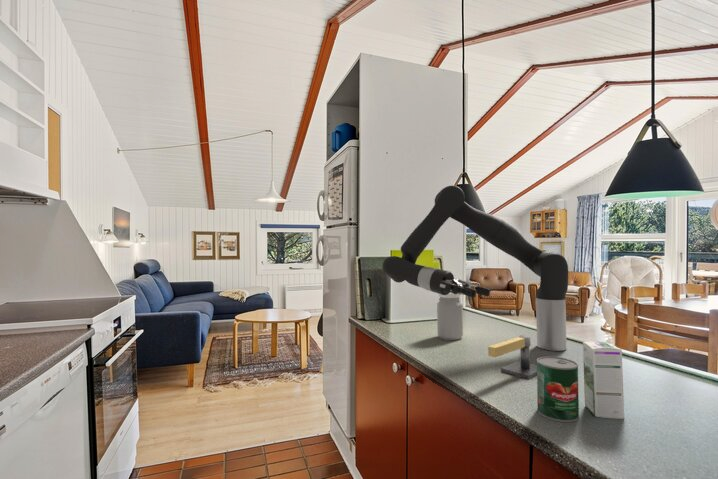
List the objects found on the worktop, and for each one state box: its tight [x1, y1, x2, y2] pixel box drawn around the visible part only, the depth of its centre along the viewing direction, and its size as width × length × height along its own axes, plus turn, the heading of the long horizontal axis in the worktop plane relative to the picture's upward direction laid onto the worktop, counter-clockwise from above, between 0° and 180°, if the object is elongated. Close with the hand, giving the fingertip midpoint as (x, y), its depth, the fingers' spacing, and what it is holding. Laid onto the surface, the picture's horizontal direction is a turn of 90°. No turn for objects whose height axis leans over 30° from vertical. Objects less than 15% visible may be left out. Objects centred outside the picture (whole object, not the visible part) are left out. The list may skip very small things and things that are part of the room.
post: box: [500, 346, 537, 380], centre depth 106 cm, size 10×8×7 cm
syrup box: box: [582, 341, 625, 420], centre depth 80 cm, size 6×6×14 cm
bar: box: [487, 335, 531, 358], centre depth 102 cm, size 18×3×2 cm, turn 128°
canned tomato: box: [536, 356, 580, 423], centre depth 79 cm, size 8×8×11 cm
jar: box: [436, 293, 464, 341], centre depth 146 cm, size 10×10×18 cm
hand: (482, 293), depth 106 cm, fingers open, 8 cm apart
